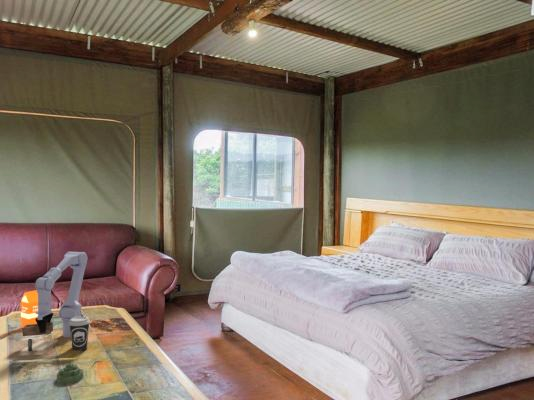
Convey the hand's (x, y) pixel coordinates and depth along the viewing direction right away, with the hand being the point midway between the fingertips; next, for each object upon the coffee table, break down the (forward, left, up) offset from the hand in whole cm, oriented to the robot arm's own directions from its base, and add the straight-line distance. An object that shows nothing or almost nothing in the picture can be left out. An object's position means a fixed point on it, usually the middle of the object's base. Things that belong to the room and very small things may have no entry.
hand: (44, 330), depth 226 cm
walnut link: (+3, 0, -1) cm, 3 cm away
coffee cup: (-17, +3, -9) cm, 19 cm away
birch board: (+3, 0, -9) cm, 9 cm away
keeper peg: (+5, +4, -9) cm, 11 cm away
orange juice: (+17, -38, -9) cm, 43 cm away
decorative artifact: (-20, +37, -9) cm, 44 cm away
